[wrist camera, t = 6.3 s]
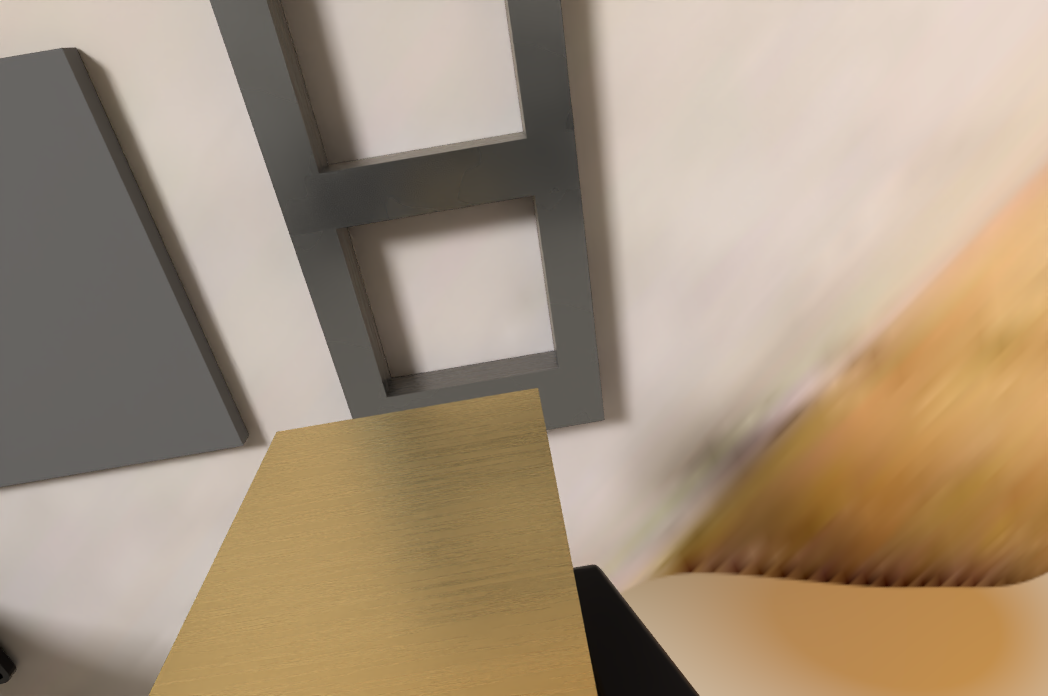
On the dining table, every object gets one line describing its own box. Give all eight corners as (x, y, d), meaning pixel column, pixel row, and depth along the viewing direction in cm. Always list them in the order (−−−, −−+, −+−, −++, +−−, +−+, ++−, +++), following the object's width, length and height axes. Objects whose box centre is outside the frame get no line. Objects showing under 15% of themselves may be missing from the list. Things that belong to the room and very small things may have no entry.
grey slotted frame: (597, 400, 21) (604, 419, 20) (372, 438, 21) (367, 460, 20) (465, -809, 10) (465, -908, 9) (-13, -729, 10) (-71, -821, 9)
